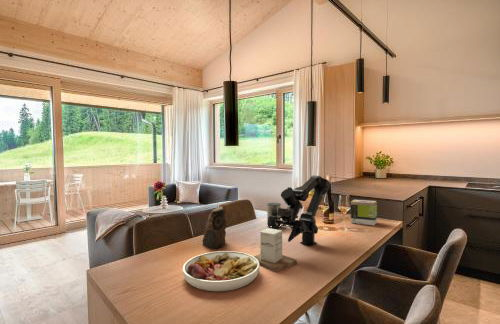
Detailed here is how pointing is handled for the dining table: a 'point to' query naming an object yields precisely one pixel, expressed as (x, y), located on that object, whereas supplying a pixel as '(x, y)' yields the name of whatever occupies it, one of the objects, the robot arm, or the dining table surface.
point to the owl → (215, 229)
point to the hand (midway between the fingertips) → (279, 239)
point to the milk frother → (273, 211)
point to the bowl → (221, 270)
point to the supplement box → (271, 245)
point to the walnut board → (276, 263)
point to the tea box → (364, 212)
